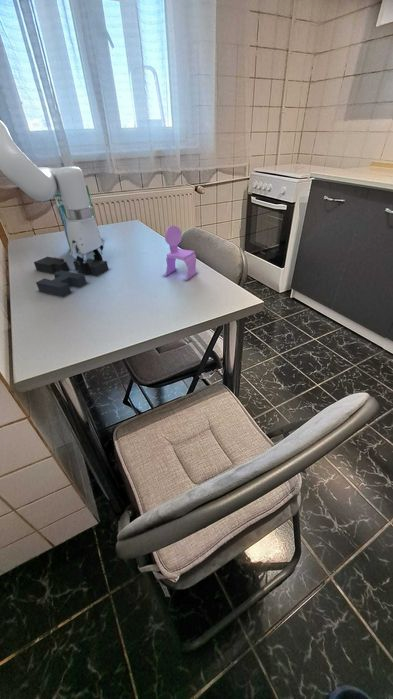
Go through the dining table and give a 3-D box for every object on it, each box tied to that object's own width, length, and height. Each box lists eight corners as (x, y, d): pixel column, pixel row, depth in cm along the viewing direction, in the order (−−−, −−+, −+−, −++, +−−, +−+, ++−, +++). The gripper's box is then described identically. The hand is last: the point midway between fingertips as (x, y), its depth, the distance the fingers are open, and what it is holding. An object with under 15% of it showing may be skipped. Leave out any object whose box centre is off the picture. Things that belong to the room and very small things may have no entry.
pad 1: (36, 270, 104) (33, 262, 102) (50, 264, 108) (47, 256, 106) (59, 274, 100) (56, 266, 98) (72, 268, 104) (69, 260, 102)
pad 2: (72, 271, 102) (69, 263, 100) (84, 265, 106) (82, 257, 105) (97, 276, 98) (94, 267, 96) (108, 269, 102) (106, 261, 101)
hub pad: (39, 291, 90) (35, 282, 88) (63, 278, 97) (60, 270, 95) (63, 297, 86) (60, 287, 85) (86, 283, 94) (84, 274, 92)
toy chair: (186, 282, 92) (183, 232, 83) (162, 277, 96) (157, 229, 87) (198, 272, 98) (197, 225, 89) (176, 268, 101) (173, 222, 92)
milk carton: (101, 247, 123) (86, 178, 107) (84, 253, 117) (65, 181, 102) (87, 243, 127) (70, 177, 112) (69, 249, 121) (49, 180, 106)
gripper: (89, 207, 98) (101, 260, 109) (48, 219, 86) (67, 277, 97) (107, 208, 95) (117, 262, 106) (67, 221, 83) (84, 281, 94)
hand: (93, 269), depth 101 cm, fingers closed on pad 2, 6 cm apart
